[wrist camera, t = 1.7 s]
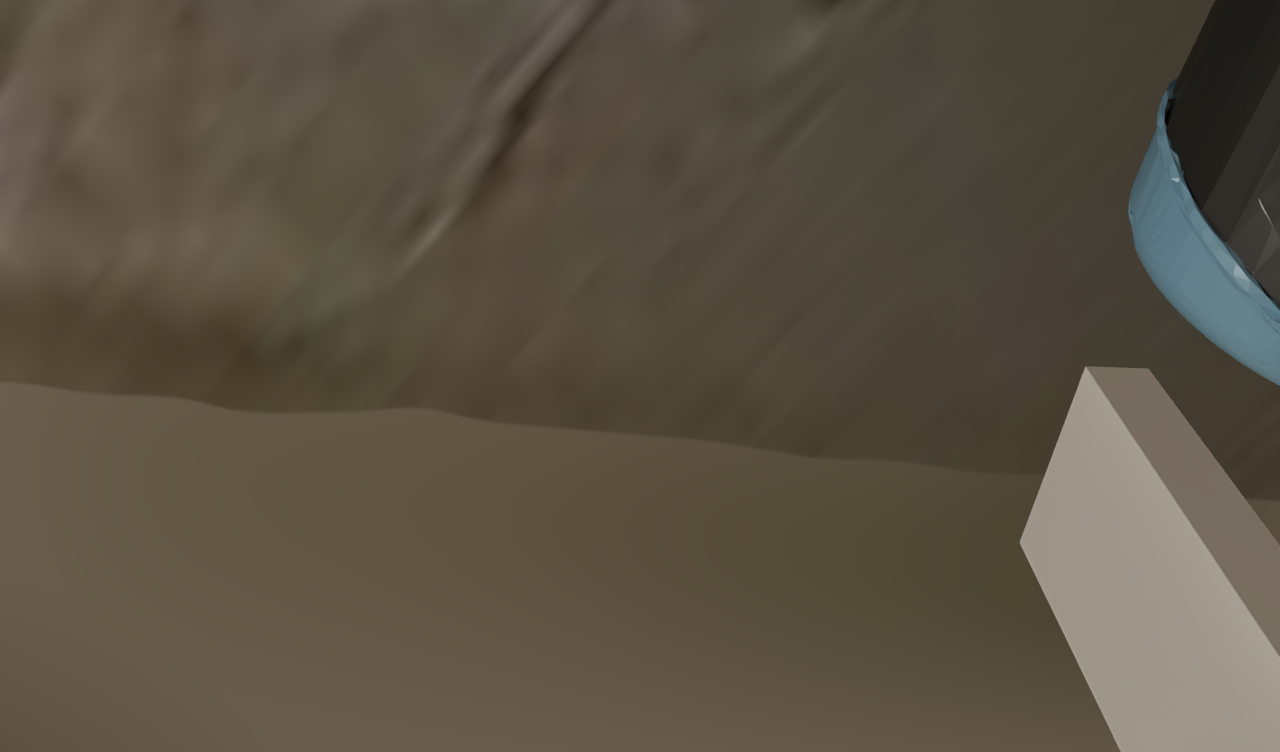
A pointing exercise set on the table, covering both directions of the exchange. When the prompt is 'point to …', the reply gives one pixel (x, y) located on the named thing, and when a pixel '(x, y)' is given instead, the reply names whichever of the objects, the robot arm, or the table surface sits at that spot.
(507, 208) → the table surface
